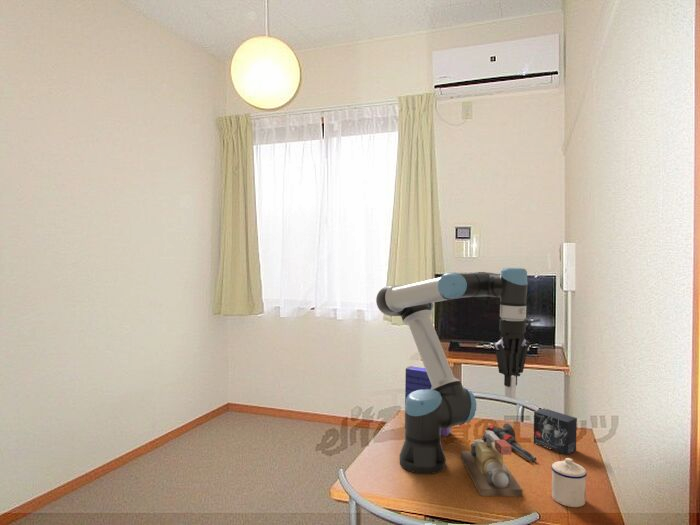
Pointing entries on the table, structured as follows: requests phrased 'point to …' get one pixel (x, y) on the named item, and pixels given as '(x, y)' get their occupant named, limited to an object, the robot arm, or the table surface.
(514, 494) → the valve stand
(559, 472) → the white lidded jar
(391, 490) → the table surface
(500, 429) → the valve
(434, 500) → the table surface
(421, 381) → the cereal box
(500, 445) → the valve lever
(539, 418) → the small box
